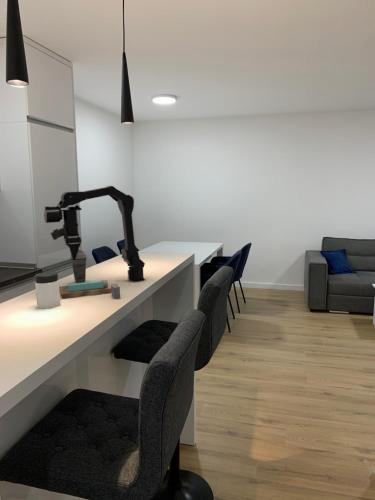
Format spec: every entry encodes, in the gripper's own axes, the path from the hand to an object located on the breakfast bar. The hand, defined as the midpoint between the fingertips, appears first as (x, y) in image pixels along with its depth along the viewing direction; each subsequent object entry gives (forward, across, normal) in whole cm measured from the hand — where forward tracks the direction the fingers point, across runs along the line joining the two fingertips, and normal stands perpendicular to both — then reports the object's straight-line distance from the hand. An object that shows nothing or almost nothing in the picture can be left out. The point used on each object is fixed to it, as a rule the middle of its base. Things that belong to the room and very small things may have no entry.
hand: (73, 257), depth 173 cm
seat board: (+14, +8, +3) cm, 16 cm away
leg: (+12, +12, +4) cm, 17 cm away
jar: (+14, +22, -11) cm, 29 cm away
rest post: (+14, +22, +14) cm, 29 cm away
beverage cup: (+14, -11, +3) cm, 18 cm away
